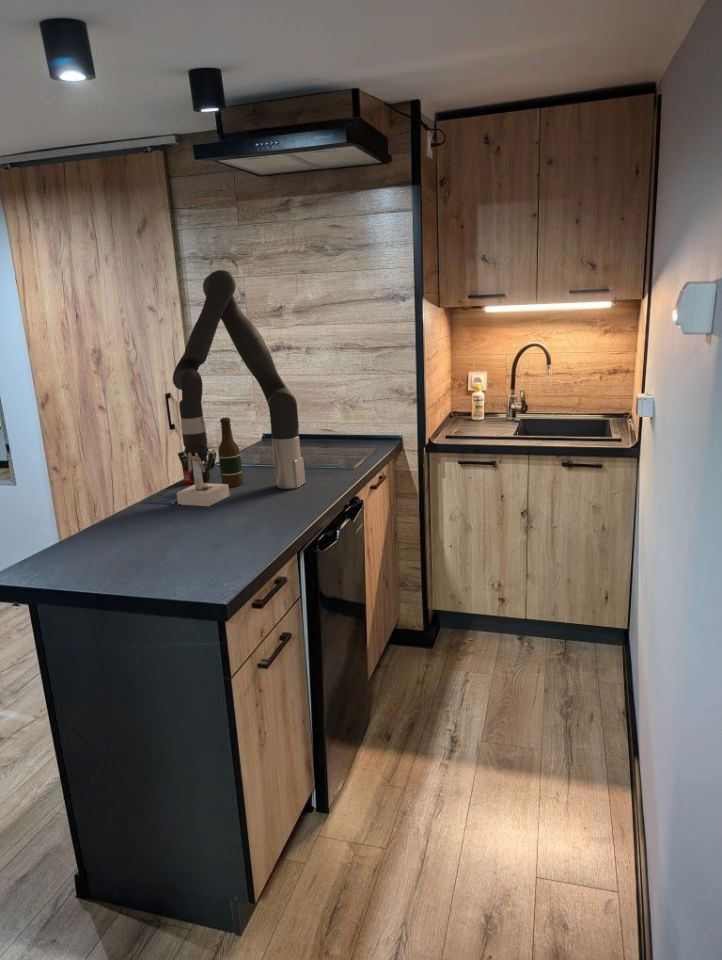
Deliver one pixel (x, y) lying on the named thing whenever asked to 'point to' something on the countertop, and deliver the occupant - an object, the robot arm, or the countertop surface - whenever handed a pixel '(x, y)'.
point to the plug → (198, 475)
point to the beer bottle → (229, 457)
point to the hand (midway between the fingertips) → (200, 482)
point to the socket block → (203, 495)
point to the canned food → (187, 476)
